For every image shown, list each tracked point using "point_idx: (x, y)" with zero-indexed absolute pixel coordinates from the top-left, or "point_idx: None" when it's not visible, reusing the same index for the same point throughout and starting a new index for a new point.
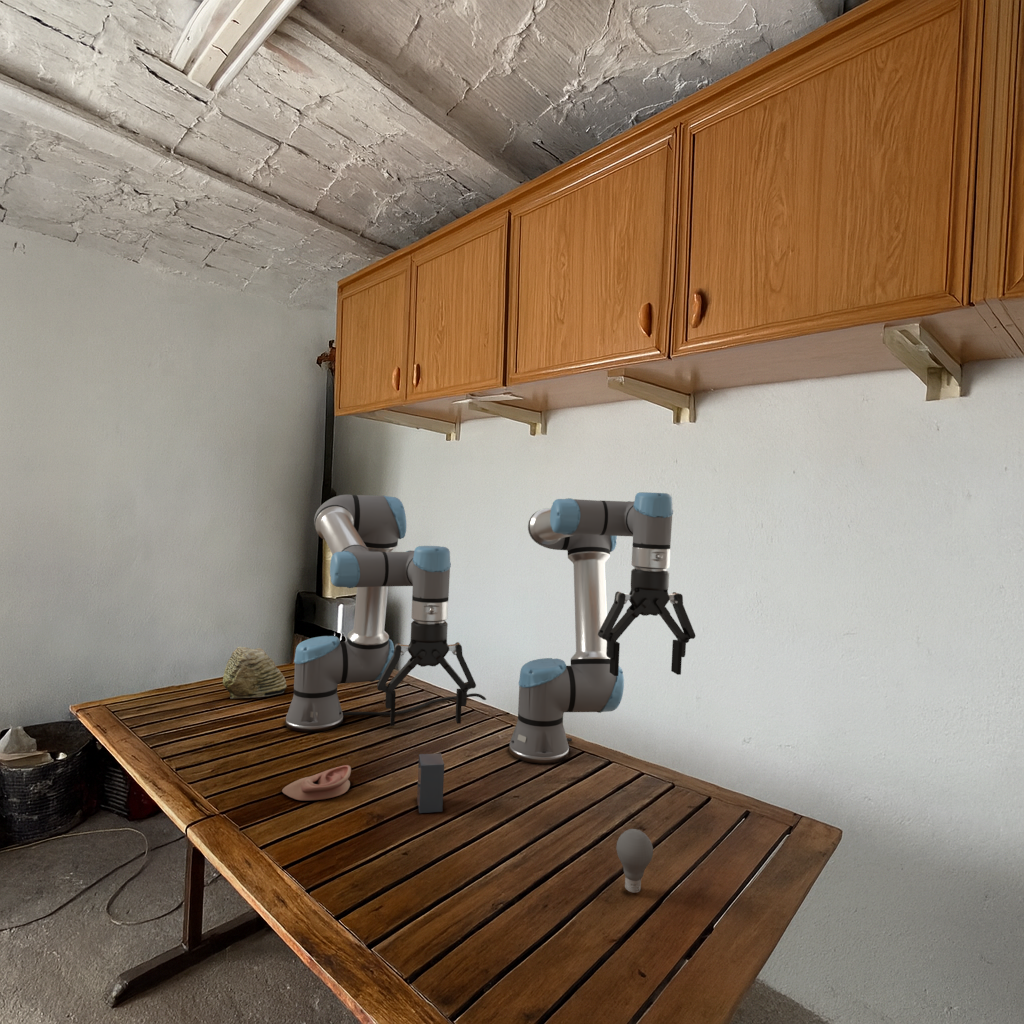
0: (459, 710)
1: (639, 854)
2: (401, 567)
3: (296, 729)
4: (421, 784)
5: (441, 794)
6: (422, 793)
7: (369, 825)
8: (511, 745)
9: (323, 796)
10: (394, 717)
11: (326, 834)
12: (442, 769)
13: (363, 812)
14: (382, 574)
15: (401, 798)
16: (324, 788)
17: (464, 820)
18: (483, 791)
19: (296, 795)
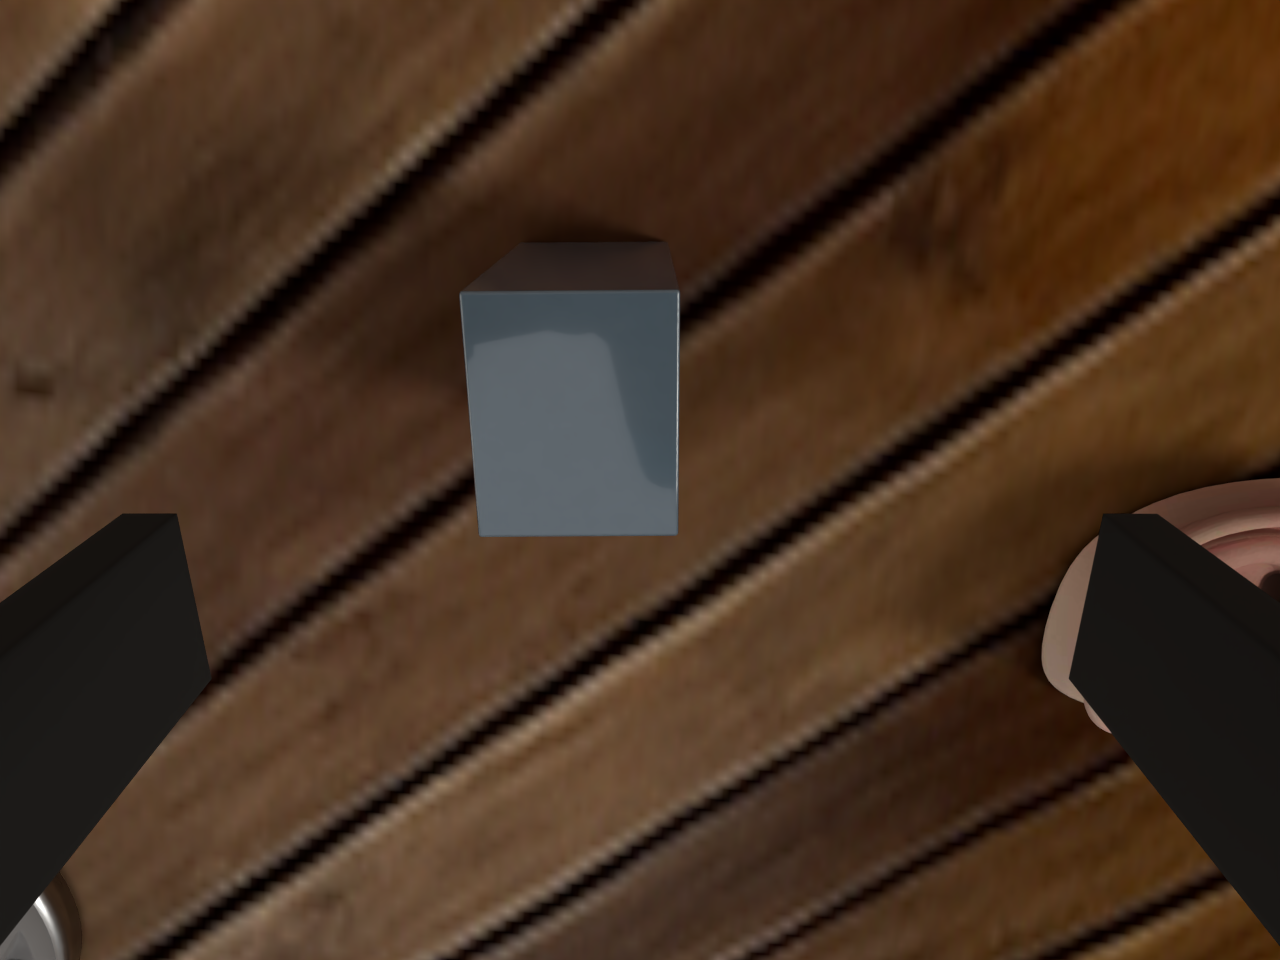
0: (18, 610)
1: None
2: None
3: None
4: (665, 264)
5: (513, 255)
6: (653, 256)
7: (993, 127)
8: (39, 938)
9: (1225, 498)
10: (1175, 573)
11: (1273, 44)
12: (482, 283)
13: (1006, 303)
14: None
15: (758, 449)
16: (1257, 510)
17: (379, 107)
18: (246, 476)
19: None
